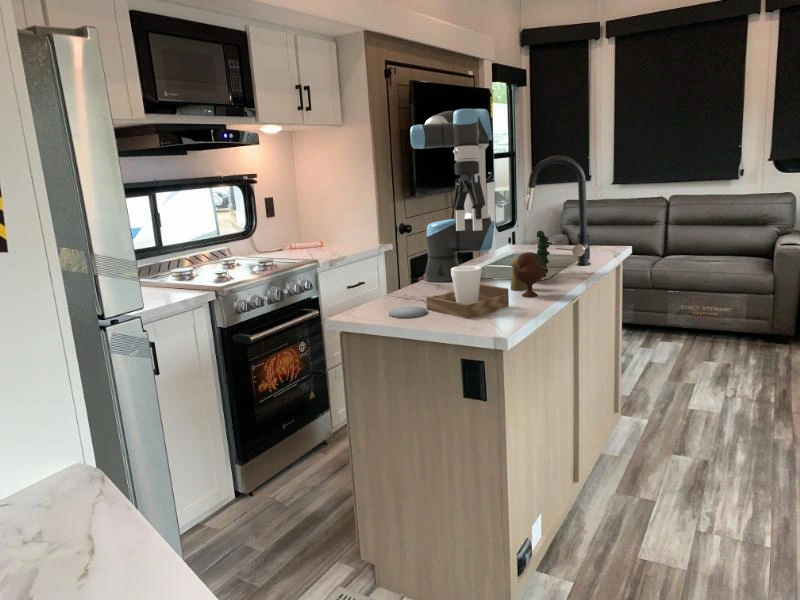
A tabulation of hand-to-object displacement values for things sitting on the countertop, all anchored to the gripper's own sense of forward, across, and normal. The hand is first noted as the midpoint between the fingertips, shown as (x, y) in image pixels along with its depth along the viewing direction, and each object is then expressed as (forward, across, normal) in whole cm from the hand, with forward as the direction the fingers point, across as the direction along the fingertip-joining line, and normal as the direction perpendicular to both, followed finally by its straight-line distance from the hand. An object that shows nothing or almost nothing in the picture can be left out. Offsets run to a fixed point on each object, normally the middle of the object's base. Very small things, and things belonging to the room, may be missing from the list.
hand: (468, 230), depth 194 cm
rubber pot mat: (+25, -5, -20) cm, 32 cm away
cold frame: (+25, -2, -1) cm, 25 cm away
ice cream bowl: (+23, -7, +25) cm, 35 cm away
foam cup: (+25, -2, -1) cm, 25 cm away
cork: (+22, -19, +26) cm, 39 cm away
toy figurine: (+20, -33, +40) cm, 56 cm away
